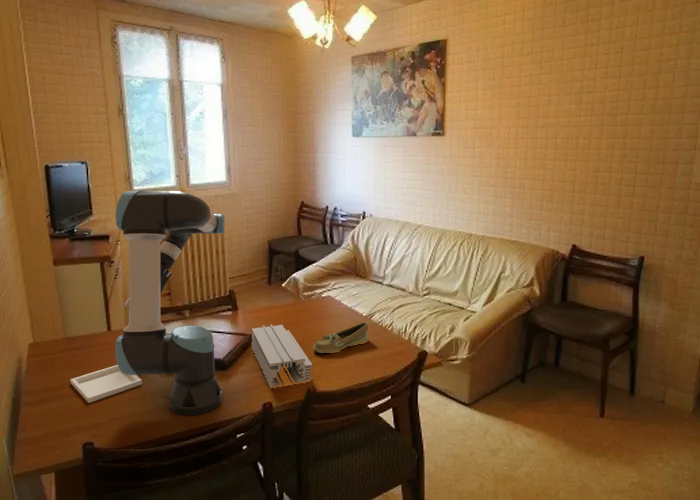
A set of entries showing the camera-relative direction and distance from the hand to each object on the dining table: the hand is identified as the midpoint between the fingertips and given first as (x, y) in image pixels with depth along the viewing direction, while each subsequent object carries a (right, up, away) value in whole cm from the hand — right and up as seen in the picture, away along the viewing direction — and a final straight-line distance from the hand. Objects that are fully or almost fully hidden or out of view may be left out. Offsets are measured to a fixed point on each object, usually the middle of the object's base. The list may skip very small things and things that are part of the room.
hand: (133, 308), depth 177 cm
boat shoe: (+76, -17, +12) cm, 78 cm away
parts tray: (+1, -23, -22) cm, 32 cm away
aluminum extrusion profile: (+55, -20, -5) cm, 58 cm away
